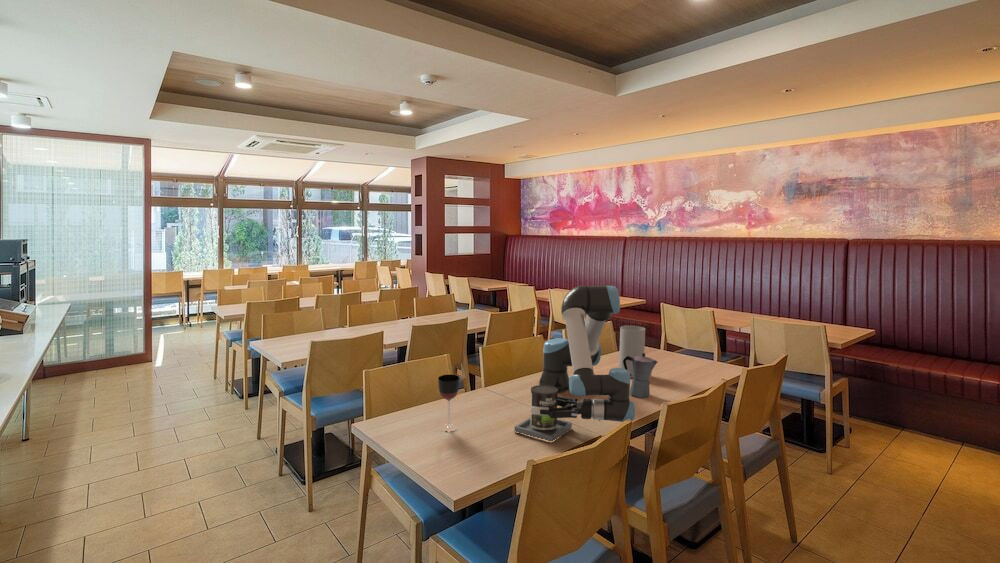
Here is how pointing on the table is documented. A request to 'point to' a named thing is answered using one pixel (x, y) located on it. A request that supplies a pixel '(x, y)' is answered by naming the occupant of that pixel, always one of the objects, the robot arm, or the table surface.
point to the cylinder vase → (631, 345)
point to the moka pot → (640, 375)
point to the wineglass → (448, 389)
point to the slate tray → (544, 434)
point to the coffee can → (543, 398)
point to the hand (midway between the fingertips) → (532, 405)
